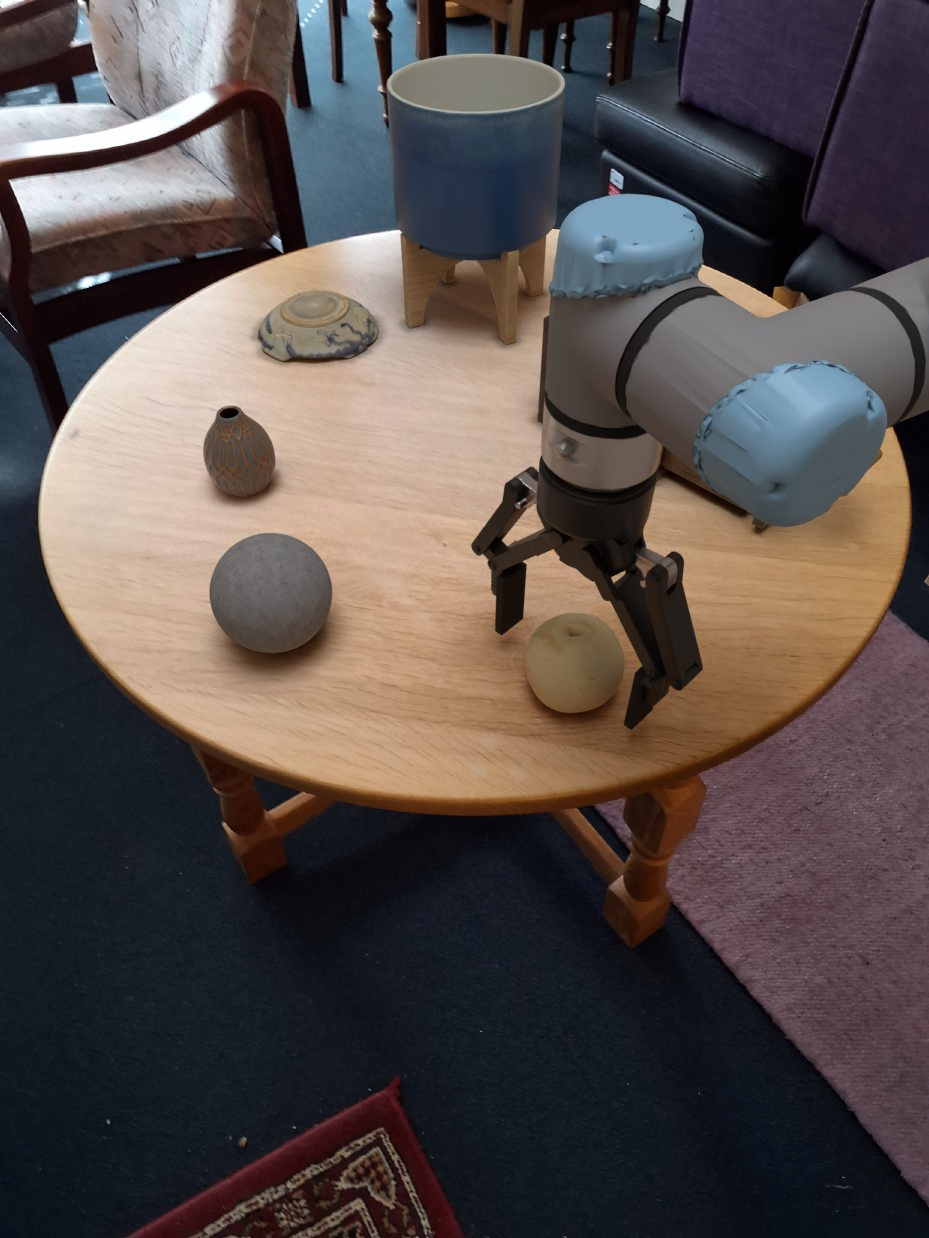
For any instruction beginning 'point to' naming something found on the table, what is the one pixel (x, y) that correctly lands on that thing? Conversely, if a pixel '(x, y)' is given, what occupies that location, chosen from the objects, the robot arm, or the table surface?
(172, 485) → the table surface
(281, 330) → the decorative bowl
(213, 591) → the decorative ball
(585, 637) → the apple
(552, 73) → the planter
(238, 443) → the vase
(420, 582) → the table surface
